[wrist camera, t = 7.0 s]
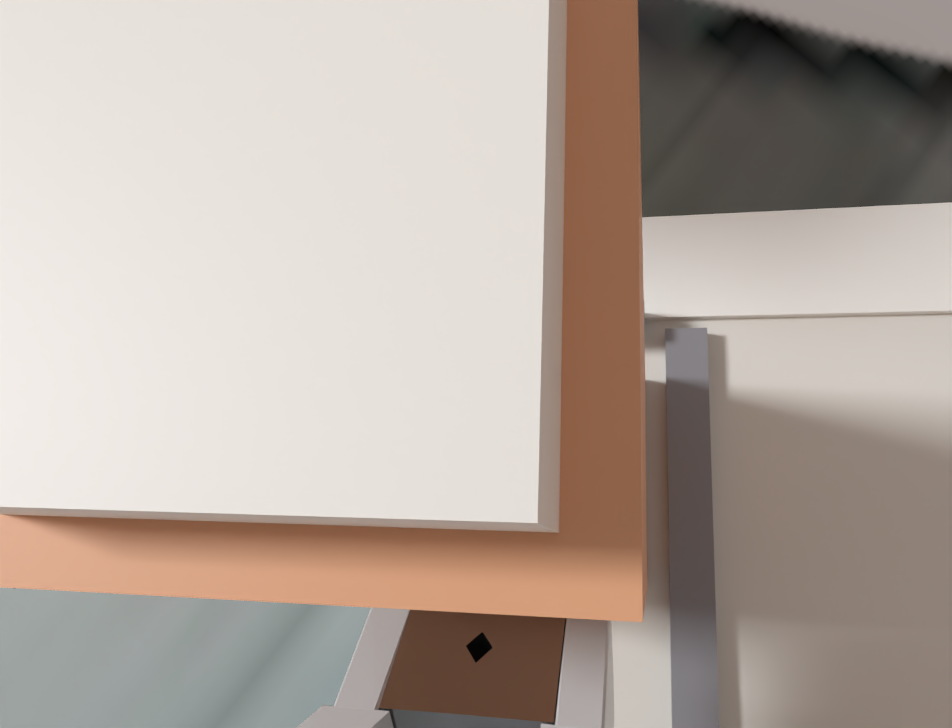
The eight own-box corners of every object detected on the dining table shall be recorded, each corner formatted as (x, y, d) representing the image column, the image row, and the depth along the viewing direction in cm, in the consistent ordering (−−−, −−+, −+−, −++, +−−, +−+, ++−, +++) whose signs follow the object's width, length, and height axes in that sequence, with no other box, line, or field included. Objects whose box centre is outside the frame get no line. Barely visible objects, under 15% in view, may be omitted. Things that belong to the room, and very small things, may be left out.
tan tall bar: (441, 576, 16) (-212, 584, 4) (451, 380, 17) (-46, -104, 5) (647, 585, 15) (641, 633, 3) (645, 378, 16) (634, -212, 4)
